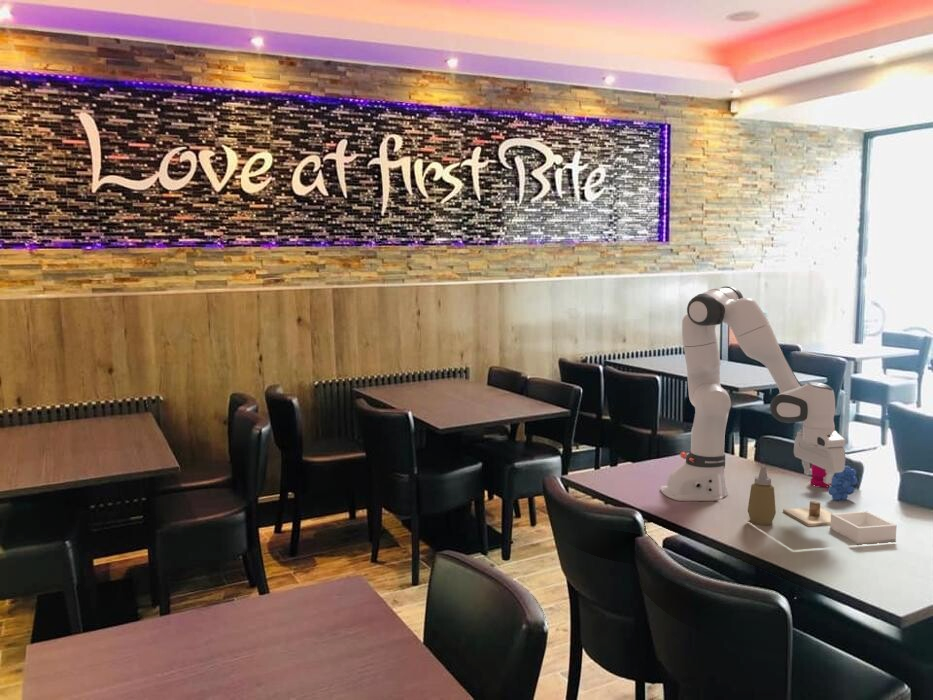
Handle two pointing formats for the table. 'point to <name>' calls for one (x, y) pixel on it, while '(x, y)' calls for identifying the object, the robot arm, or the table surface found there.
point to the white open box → (863, 527)
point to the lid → (811, 514)
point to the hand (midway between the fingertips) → (817, 478)
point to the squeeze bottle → (762, 500)
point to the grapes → (843, 484)
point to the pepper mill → (818, 476)
